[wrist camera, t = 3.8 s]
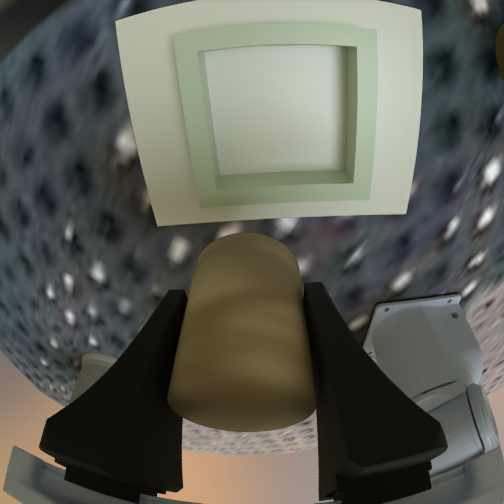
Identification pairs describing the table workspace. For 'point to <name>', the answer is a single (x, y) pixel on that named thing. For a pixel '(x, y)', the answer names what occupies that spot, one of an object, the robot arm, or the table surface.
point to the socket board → (274, 107)
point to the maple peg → (244, 339)
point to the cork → (500, 49)
